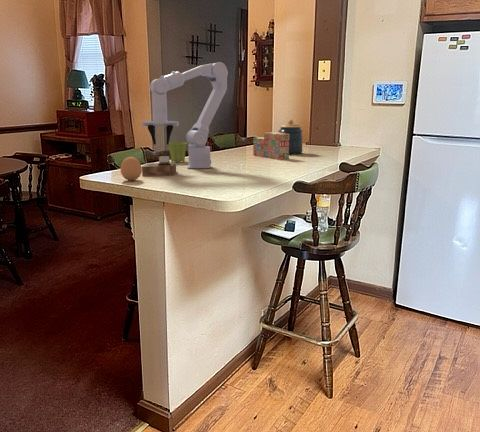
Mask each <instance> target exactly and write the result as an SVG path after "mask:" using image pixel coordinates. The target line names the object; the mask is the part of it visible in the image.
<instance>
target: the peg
mask: <svg viewBox="0 0 480 432" xmlns="http://www.w3.org/2000/svg"><path fill="white" fill-rule="evenodd" d="M170 161H171V158H170V155H164V156H159V157H158V163H159V165H170V163H171V162H170Z"/></svg>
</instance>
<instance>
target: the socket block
mask: <svg viewBox="0 0 480 432" xmlns="http://www.w3.org/2000/svg"><path fill="white" fill-rule="evenodd" d="M141 167H142V172H141V176H145V177H148V176H149V177H150V176H153V177H154V176H158V177H159V176H175V174H176V173H177V162H170V165H159V162H145V163H144V164H143V165H141Z"/></svg>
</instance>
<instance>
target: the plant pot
mask: <svg viewBox="0 0 480 432" xmlns="http://www.w3.org/2000/svg"><path fill="white" fill-rule="evenodd" d="M187 146H188V142H184V141H182V142H181V141H179V142H169V144H168V145H167V147H168V149H169V150H168V151H169V158H170V161H175V162H174V163H182V162H181V161H184V162H185V160H186V159H185V158H186V149H187Z"/></svg>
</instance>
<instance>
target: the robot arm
mask: <svg viewBox="0 0 480 432" xmlns="http://www.w3.org/2000/svg"><path fill="white" fill-rule="evenodd" d="M228 75H229V71H228V68H227V66H226V64H225V63H223V62H221V61H218V62H214V63H211V62H210V63H208V64H202V65H199V66H197V67H194V68H192V69H189V70H186V71H183V72H182V73H181V72H180V71H175V70H173V71H171V73H170V74H166V75H160V77H159V78H156V79H153V80H152V81H151V82H150V85H149V90H150V92H151V95H152V97H151V100H152V101H151V104H152V120H141V126H142V127H147V129H148V132H149V134H150V136H151V138H152V143H153V145H154V146H155V145H156V144H157V140H156V127H165V129H166V130H165V131H166V145H167V146H168V144H169V143H170V140H171V139H170V138H171V134H172V133H173V129H174V127H179V125H180V123H179V122H180V121H179V120H168V98H167V92H168V91H171V90H173V89H177V88H180V87H182V86H183V85H184V83H185V82H186V81H188V80H191V79H194V78H196V77H200V76H201V77H206V78H207V79H208V81H209V82H210V83H211V86H212V90H211V92H210V94H209V97H208V98H207V100H206V103H205V105H204V107H203V109H202V111H201V113H200V115H199V117H198V119H197V122H195V123H194V124H193V125H192V127H191V129H190V130H188V131H187V133H186V135H185V139H186V141H187V147H188V165H187V168H186V169H211V165H212V159H211V146H207V145H206V144H207V142H208V136H209V133H210V125H211V124H212V121H213V119H214V118H215V116H216V112H217V111H218V109H219V107H220V105H221V102H222V101H223V98H224V96H225V95H226V92H227V90H228Z"/></svg>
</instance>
